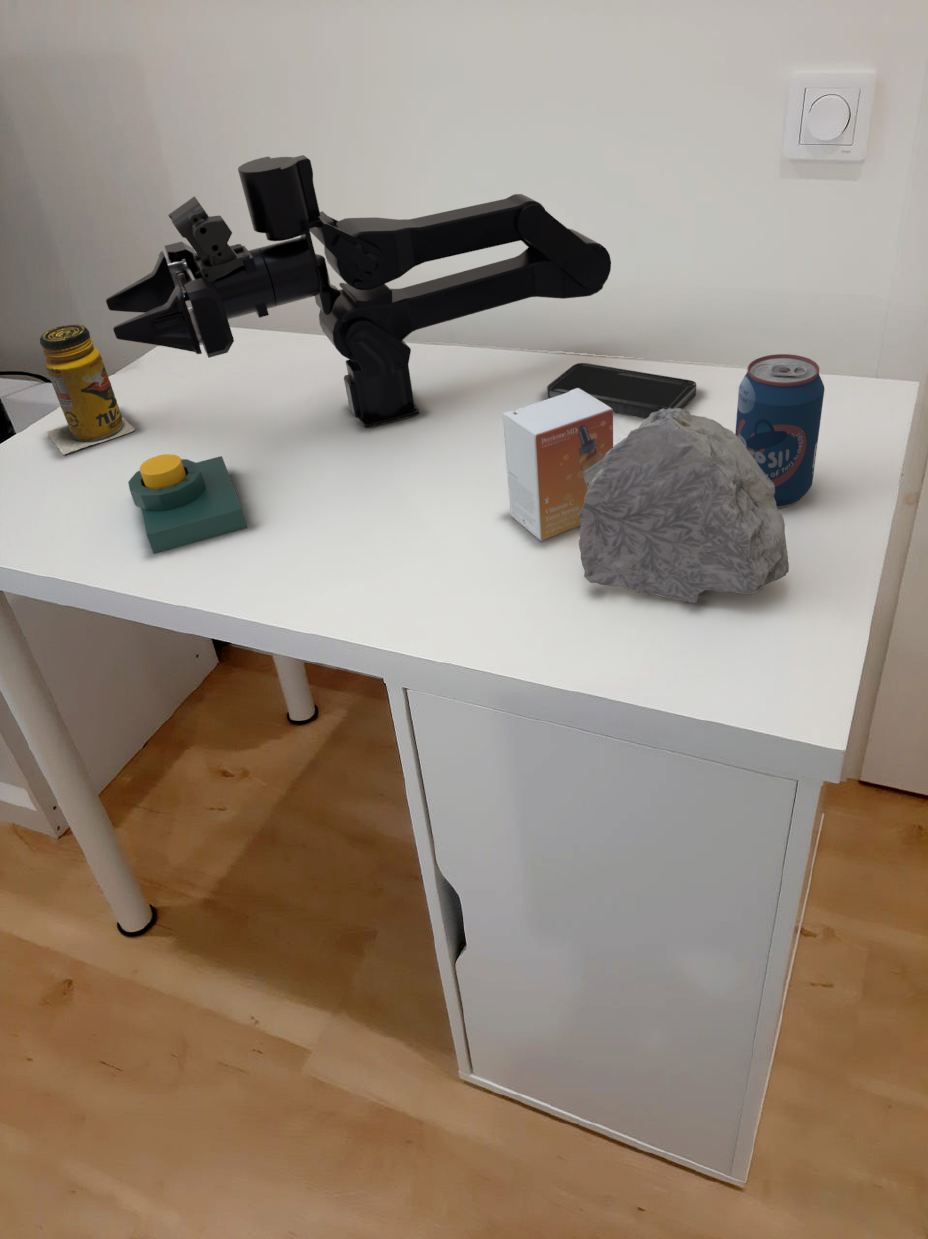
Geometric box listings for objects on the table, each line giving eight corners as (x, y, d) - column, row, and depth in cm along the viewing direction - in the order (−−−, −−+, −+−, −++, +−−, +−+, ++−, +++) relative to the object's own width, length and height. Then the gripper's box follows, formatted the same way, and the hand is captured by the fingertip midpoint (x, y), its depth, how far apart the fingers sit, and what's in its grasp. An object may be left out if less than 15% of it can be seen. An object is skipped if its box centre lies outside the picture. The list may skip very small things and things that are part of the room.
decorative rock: (571, 590, 80) (563, 424, 71) (594, 546, 84) (590, 385, 75) (777, 622, 74) (798, 445, 65) (790, 572, 79) (811, 401, 69)
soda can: (725, 508, 87) (734, 383, 80) (736, 470, 92) (745, 349, 85) (807, 516, 85) (824, 388, 77) (813, 476, 90) (830, 352, 82)
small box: (540, 543, 86) (533, 436, 79) (509, 516, 90) (499, 411, 83) (616, 514, 88) (615, 407, 82) (582, 489, 92) (578, 385, 86)
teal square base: (227, 474, 102) (217, 440, 100) (247, 528, 93) (237, 492, 91) (136, 498, 100) (124, 463, 98) (148, 555, 91) (135, 519, 89)
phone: (669, 412, 100) (543, 388, 107) (668, 422, 101) (543, 398, 108) (700, 381, 105) (578, 361, 112) (699, 391, 106) (578, 370, 113)
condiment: (135, 431, 113) (101, 331, 106) (63, 456, 110) (23, 355, 102) (116, 411, 118) (83, 314, 111) (47, 434, 115) (7, 336, 107)
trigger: (183, 465, 97) (178, 450, 96) (188, 483, 94) (183, 467, 93) (143, 476, 96) (137, 460, 95) (147, 494, 93) (141, 478, 92)
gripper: (227, 175, 100) (74, 211, 96) (263, 214, 85) (84, 259, 82) (256, 283, 106) (114, 320, 103) (294, 336, 92) (130, 381, 89)
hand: (110, 318), depth 94 cm, fingers open, 9 cm apart
